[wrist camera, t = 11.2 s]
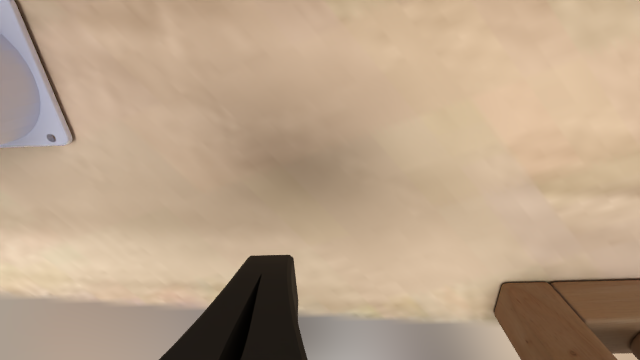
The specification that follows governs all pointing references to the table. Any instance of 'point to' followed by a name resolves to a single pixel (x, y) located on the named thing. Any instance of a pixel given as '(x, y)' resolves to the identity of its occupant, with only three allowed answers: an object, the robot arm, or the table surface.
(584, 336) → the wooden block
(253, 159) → the table surface
